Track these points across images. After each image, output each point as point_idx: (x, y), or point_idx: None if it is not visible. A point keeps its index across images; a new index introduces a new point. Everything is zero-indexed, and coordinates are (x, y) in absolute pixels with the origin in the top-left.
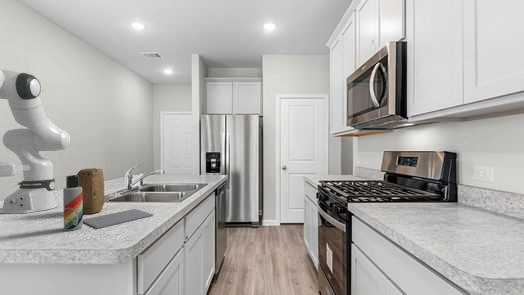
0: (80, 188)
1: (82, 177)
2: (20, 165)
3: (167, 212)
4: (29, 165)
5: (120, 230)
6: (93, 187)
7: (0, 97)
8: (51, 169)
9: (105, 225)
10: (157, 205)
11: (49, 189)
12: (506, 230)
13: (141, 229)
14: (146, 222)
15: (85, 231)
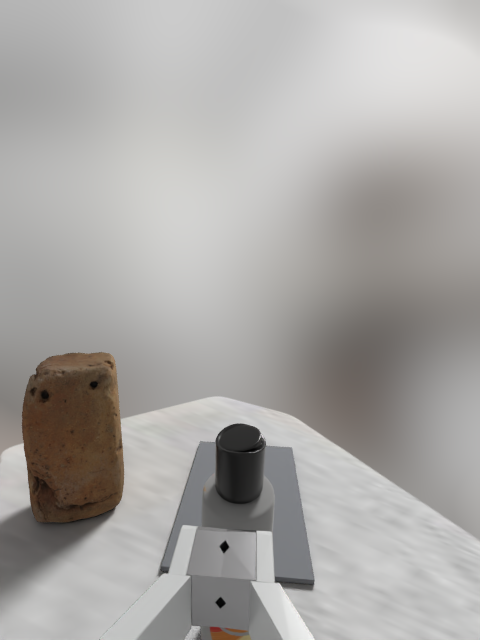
0: (266, 478)
1: (65, 400)
2: (294, 612)
3: (288, 428)
4: (270, 533)
5: (378, 550)
6: (117, 425)
7: None
8: None
9: (308, 553)
10: (210, 411)
11: None
12: None
13: (403, 516)
14: (341, 482)
15: (311, 624)
